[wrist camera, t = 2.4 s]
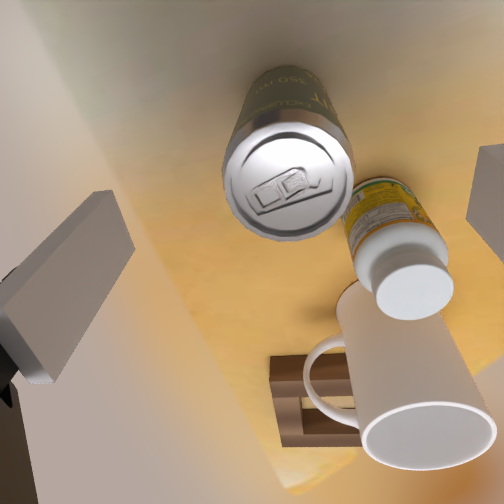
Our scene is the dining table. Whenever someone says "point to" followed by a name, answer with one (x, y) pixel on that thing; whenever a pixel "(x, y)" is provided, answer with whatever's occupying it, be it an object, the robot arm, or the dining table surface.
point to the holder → (292, 389)
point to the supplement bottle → (397, 250)
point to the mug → (405, 388)
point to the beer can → (288, 158)
